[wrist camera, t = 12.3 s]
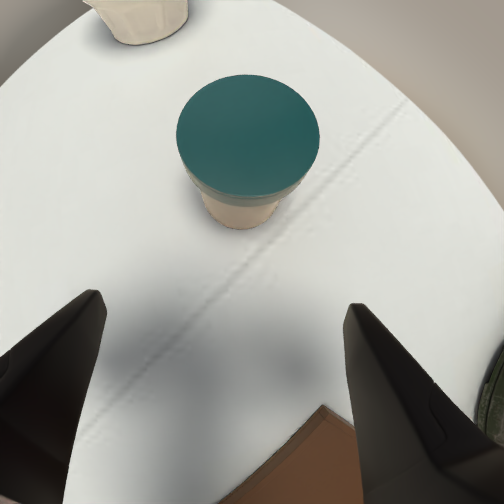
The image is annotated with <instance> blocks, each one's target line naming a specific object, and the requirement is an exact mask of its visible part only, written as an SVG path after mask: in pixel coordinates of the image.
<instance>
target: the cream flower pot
mask: <svg viewBox="0 0 504 504" xmlns="http://www.w3.org/2000/svg"><path fill="white" fill-rule="evenodd" d="M82 1H83V2H85V3H86V4H88V5H90V6H92V7H93V8H94V9H95V10H96V12H97V13H98V14H99V15H100V17H101V18H102V19H103V21H104V22H105V23H106V25H107V26H108V27H109V29H110V30H111V31H112V33H113V35H114V38H115V39H117V40H118V41H120V42H122V43H125V44H132V45H139V44H146V43H151V42H154V41H157V40H160V39H163V38H166V37H168V36H169V35H171V34H172V33H174V32H175V31H177V30H178V29H179V28H180V27H181V26H182V25H183V24H184V23H185V22H186V20H187V17H188V8H187V3H188V0H82Z"/></svg>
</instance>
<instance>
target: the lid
mask: <svg viewBox="0 0 504 504" xmlns="http://www.w3.org/2000/svg"><path fill="white" fill-rule="evenodd" d="M176 139H177V146H178V150H179V153H180V156H181V159H182V161H183V164H184V167H185V169H186V172H187V174H188V175H189V177H190V179H191V180H192V181H193V183H194V184H195V185H196V186H197V187H198V188H199V189H200V190H201V191H202V192H204V193H205V194H206V195H208V196H209V197H211V198H213V199H215V200H217V201H219V202H222V203H224V204H228V205H232V206H238V207H257V206H263V205H267V204H271V203H273V202H276V201H278V200H280V199H282V198H284V197H286V196H287V195H288V194H290V193H291V192H292V191H293V190H294V189H295V188H296V187H297V186H298V185H299V184H300V183H301V181H302V180H303V179H304V177H305V175H306V174H307V172H308V171H309V169H310V168H311V166H312V164H313V162H314V161H315V158H316V155H317V153H318V149H319V139H320V135H319V127H318V124H317V120H316V118H315V115H314V113H313V111H312V110H311V108H310V106H309V105H308V104H307V102H306V101H305V100H304V99H303V98H302V97H301V96H300V95H299V94H298V93H297V92H295V91H294V90H293V89H292V88H290V87H288V86H287V85H285V84H283V83H281V82H279V81H276V80H274V79H271V78H267V77H263V76H257V75H235V76H230V77H225V78H222V79H219V80H216V81H214V82H212V83H210V84H208V85H206V86H205V87H203V88H202V89H200V90H199V91H198V92H196V93H195V94H194V95H193V96H192V97H191V98H190V100H189V101H188V102H187V103H186V105H185V107H184V108H183V110H182V112H181V114H180V117H179V120H178V124H177V131H176Z"/></svg>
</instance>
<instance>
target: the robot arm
mask: <svg viewBox="0 0 504 504" xmlns="http://www.w3.org/2000/svg"><path fill="white" fill-rule="evenodd" d="M106 317H107V309H106V306H105V303H104V301H103V298H102V295H101V293H100V292H99V291H98V290H91V289H88V290H86V291H84V292H83V293H82V294H80V295H79V296H78V297H76V298H75V299H73V300H72V301H71V302H69V303H68V304H67V305H65V306H64V307H63V308H62V309H60V310H59V311H58V312H56V313H55V314H54V315H52V316H51V317H50V318H48V319H47V320H46V321H45V322H43V323H42V324H41V325H40V326H38V327H37V328H36V329H34V330H33V331H32V332H31V333H29V334H28V335H27V336H26V337H24V338H23V339H22V340H21V341H19V342H18V343H17V344H16V345H15V346H13V347H12V348H11V349H10V350H8V351H7V352H6V353H5V354H4V355H2V356H1V357H0V504H63V497H64V491H65V485H66V480H67V474H68V469H69V463H70V458H71V454H72V449H73V444H74V440H75V436H76V432H77V427H78V423H79V419H80V416H81V412H82V408H83V404H84V401H85V397H86V393H87V390H88V387H89V383H90V380H91V376H92V373H93V370H94V367H95V363H96V360H97V357H98V353H99V348H100V343H101V339H102V334H103V330H104V326H105V321H106ZM343 336H344V349H345V365H346V376H347V383H348V388H349V394H350V400H351V407H352V413H353V419H354V426H355V433H356V440H357V447H358V455H359V463H360V471H361V480H362V489H363V501H364V504H504V446H501V445H499V444H497V443H495V442H494V441H493V440H491V439H490V438H489V437H488V436H487V435H486V434H485V433H484V432H483V431H482V430H481V429H480V428H478V427H477V426H476V425H475V424H474V423H473V422H472V421H471V420H470V419H469V418H468V417H467V416H466V415H465V414H464V413H463V412H462V411H461V410H460V409H459V408H458V407H457V406H456V405H455V404H454V403H453V402H452V401H451V400H450V398H449V397H448V396H447V395H446V394H445V393H444V392H443V391H442V390H441V388H440V387H439V386H438V385H437V384H436V383H434V381H433V379H432V378H431V377H430V376H429V375H428V374H427V372H426V371H425V370H424V369H423V368H422V367H421V366H420V364H419V363H418V362H417V361H416V360H415V359H414V358H413V357H412V355H411V354H410V353H409V352H408V351H407V350H406V349H405V348H404V347H403V345H402V344H401V343H400V342H399V341H398V340H397V339H396V338H395V337H394V336H393V334H392V333H391V332H390V331H389V330H388V329H387V328H386V327H385V326H384V325H383V324H382V323H381V321H380V320H379V319H378V318H377V317H376V316H375V315H374V314H373V313H372V312H371V311H370V310H369V309H368V308H367V306H366V305H364V304H362V303H352V304H350V305H349V307H348V310H347V313H346V317H345V320H344V323H343Z"/></svg>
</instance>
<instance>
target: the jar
mask: <svg viewBox="0 0 504 504" xmlns="http://www.w3.org/2000/svg"><path fill="white" fill-rule="evenodd" d="M200 192H201V195H202V198H203V202H204V205H205V207H206V209H207V211H208V213H209V214H210V215H211V216H212V217H213V218H214V219H215V220H216V221H217V222H218V223H220V224H222V225H224V226H226V227H229V228H232V229H250V228H254V227H256V226H259V225H261V224H262V223H264V222H265V221H266V220H268V219H269V218H270V217H271V215H272V214H273V213H274V211H275V209H276V208H277V206H278V204H279V202H280V200H281V199H280V200H278V201H276V202H273V203H271V204H267V205H263V206H257V207H238V206H232V205H228V204H224V203H222V202H219V201H217V200H215V199H213V198H211V197H209V196H208V195H206V194H205V193H204V192H202V191H201V190H200Z"/></svg>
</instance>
